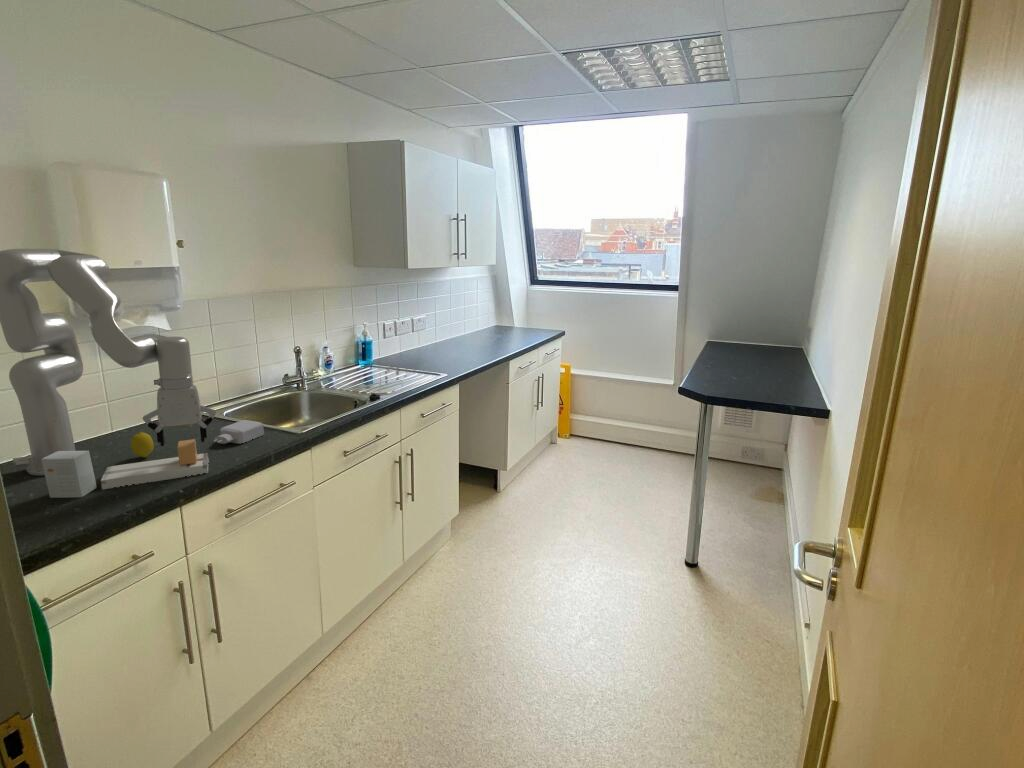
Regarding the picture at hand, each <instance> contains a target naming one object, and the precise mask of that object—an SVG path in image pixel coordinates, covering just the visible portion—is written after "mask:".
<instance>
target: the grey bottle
mask: <svg viewBox="0 0 1024 768" xmlns="http://www.w3.org/2000/svg"><path fill="white" fill-rule="evenodd" d="M219 429H220V430H219V432H220V433H219V435H217V436H215V437H214V438H213V439H214V440H213V441H212V442H213V443H218V444H222V445H226V444H228V443H232V444H237V445H242V444H241V443H243V444H245V442H246V443H247V442H250V441H252V439H253V440H255V439H257V437H258V438H260V437H262V436H264V435H265V429H264V423H262V422H260V421H255V420H254V421H253V420H248V419H241V420H239V421H236V422H234V423H231V424H228V425H226V426H223V427H221V428H219Z"/></svg>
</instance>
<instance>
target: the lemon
mask: <svg viewBox="0 0 1024 768" xmlns="http://www.w3.org/2000/svg"><path fill="white" fill-rule="evenodd" d="M154 445H155V444H154V441H153V439H152V436H151V435H149V434H148V433H147V432H143V431H140V432H138V433H136V434H135V435H133V437H132V438H131V441H130V449H131V451H132V453H133V454H134V455H136V456H137V457H141V458H146V457H147V456H149V455H150V454H151V453H152V452H153V450H154Z"/></svg>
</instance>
